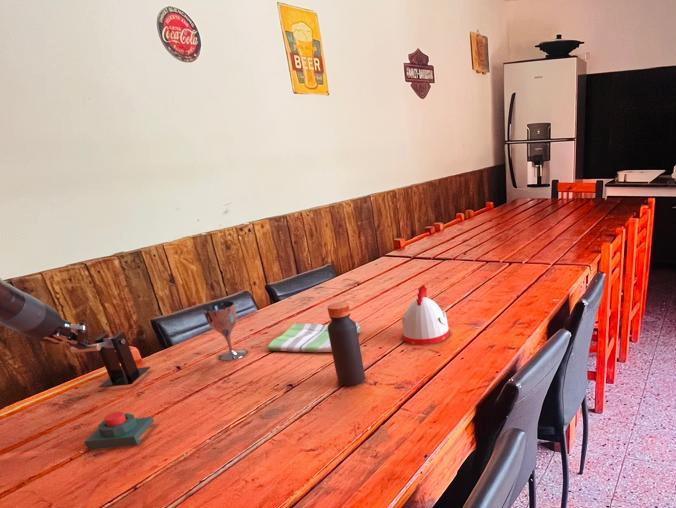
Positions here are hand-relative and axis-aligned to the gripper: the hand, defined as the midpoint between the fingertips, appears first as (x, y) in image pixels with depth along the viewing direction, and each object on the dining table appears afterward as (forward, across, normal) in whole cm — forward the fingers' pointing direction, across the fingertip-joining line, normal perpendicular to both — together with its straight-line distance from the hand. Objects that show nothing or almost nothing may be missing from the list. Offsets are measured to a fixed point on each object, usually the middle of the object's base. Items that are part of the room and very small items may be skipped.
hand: (83, 345), depth 121 cm
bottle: (+8, -61, +13) cm, 63 cm away
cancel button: (-6, -14, +22) cm, 27 cm away
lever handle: (+6, 0, -1) cm, 6 cm away
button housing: (-4, -14, +24) cm, 28 cm away
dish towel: (+29, -47, -8) cm, 56 cm away
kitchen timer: (+27, -80, -6) cm, 84 cm away
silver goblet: (+25, -24, -4) cm, 35 cm away
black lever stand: (+17, 0, +3) cm, 17 cm away
